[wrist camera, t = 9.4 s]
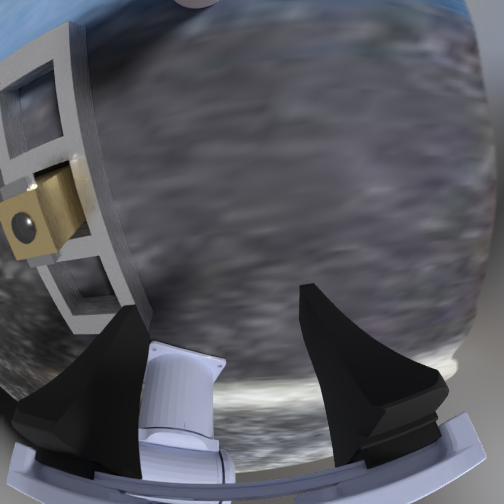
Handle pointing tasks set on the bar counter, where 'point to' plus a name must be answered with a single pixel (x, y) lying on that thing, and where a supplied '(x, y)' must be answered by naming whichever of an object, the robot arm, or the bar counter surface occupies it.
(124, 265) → the rail
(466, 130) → the bar counter surface
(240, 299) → the bar counter surface
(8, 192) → the drilled wooden block
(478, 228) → the bar counter surface
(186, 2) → the smoothie
